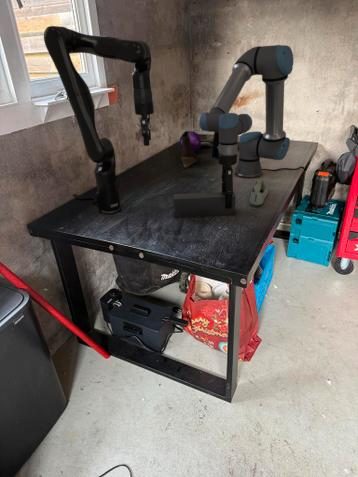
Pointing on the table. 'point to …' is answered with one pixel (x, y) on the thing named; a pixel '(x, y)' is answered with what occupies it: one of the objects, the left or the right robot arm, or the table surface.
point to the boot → (187, 151)
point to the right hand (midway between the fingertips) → (226, 201)
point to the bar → (202, 204)
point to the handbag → (215, 145)
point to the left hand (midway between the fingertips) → (147, 142)
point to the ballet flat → (258, 193)
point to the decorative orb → (193, 141)
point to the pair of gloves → (207, 141)
